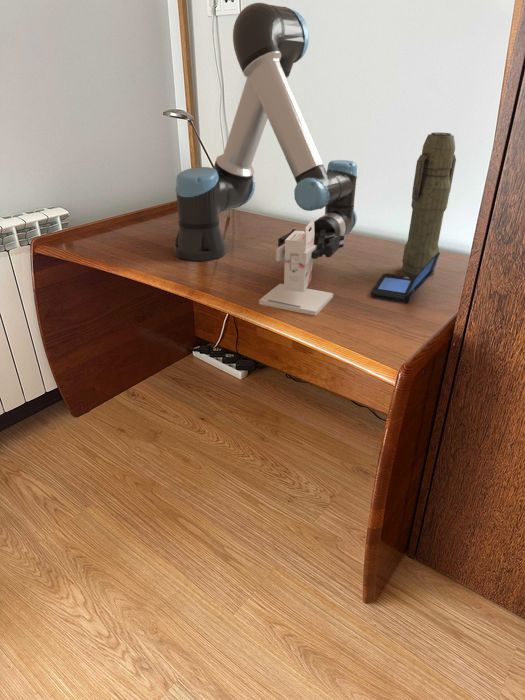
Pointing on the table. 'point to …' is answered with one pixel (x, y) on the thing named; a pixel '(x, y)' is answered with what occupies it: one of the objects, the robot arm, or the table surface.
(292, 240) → the ink cartridge box
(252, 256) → the table surface
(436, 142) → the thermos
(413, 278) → the handheld game console
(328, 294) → the notepad
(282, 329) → the table surface
